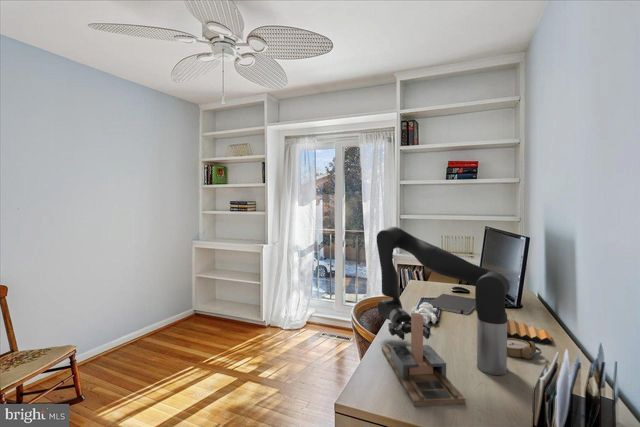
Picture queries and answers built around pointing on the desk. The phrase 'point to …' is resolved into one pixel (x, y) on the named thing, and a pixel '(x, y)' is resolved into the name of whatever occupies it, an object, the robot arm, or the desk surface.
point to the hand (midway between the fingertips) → (415, 336)
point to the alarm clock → (521, 348)
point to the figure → (426, 312)
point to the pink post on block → (418, 346)
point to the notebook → (454, 303)
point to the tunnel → (406, 360)
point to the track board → (426, 386)
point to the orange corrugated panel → (527, 333)
